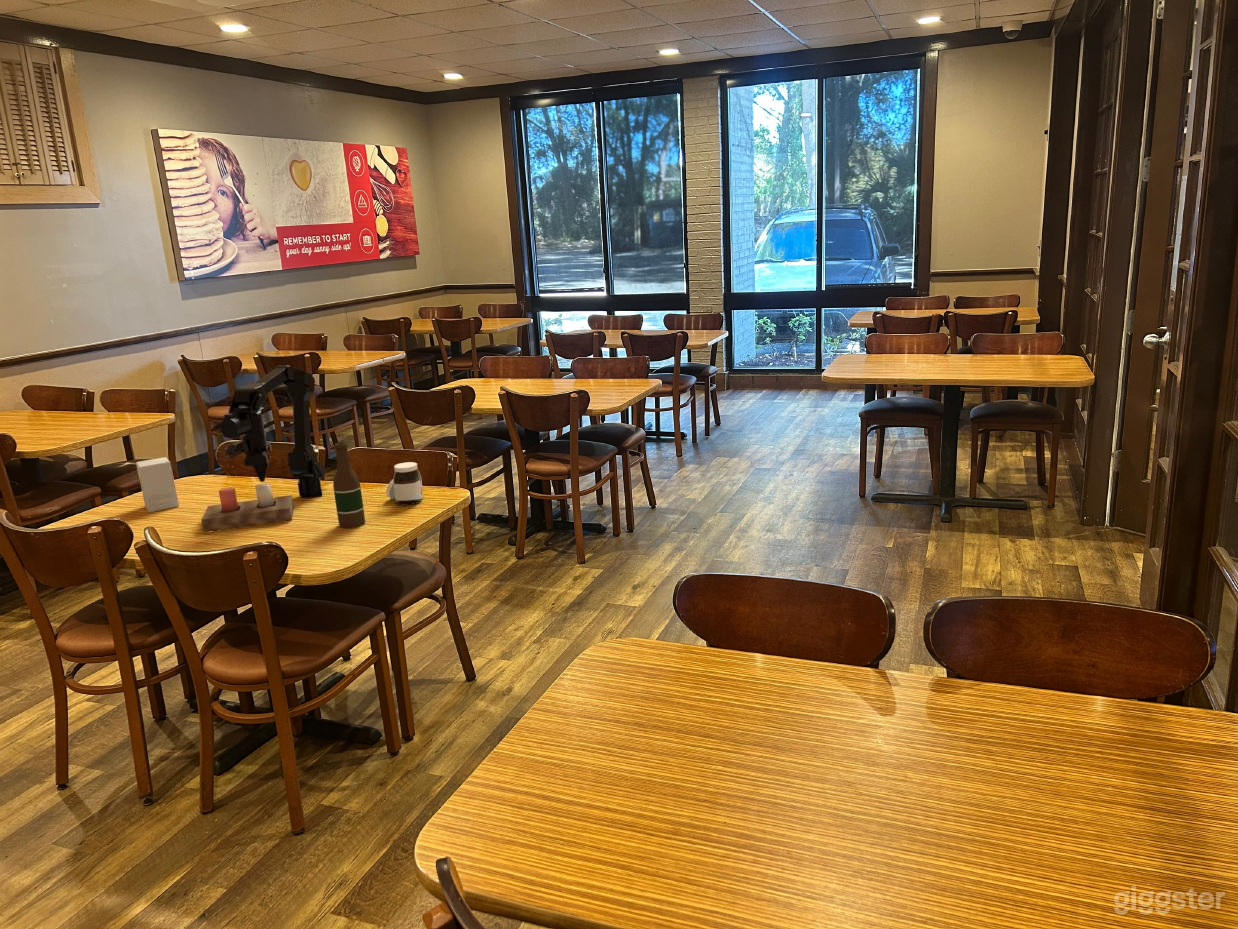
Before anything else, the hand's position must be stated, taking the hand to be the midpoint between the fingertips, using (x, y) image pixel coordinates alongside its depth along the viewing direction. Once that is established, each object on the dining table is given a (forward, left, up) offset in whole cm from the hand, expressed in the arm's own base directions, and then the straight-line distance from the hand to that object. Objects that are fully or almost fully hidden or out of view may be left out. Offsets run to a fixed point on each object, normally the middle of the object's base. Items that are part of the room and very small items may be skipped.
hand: (262, 481), depth 263 cm
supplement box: (+34, -29, -11) cm, 46 cm away
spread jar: (-40, +2, -11) cm, 42 cm away
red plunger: (+10, 0, -7) cm, 12 cm away
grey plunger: (0, 0, -7) cm, 7 cm away
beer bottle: (-24, +19, -11) cm, 33 cm away
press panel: (+5, 0, -11) cm, 12 cm away
